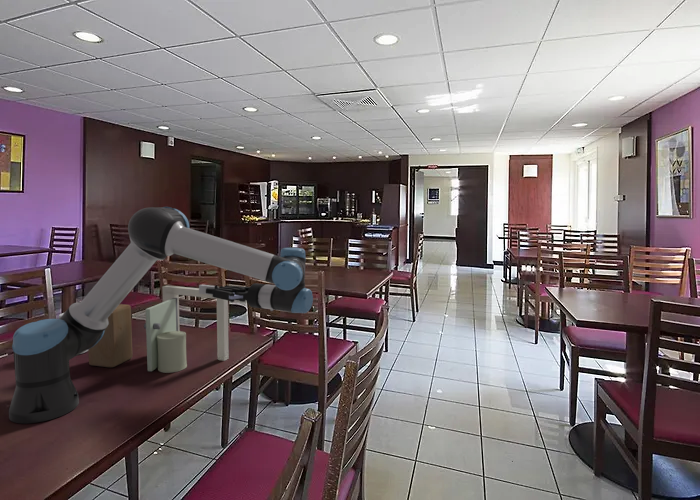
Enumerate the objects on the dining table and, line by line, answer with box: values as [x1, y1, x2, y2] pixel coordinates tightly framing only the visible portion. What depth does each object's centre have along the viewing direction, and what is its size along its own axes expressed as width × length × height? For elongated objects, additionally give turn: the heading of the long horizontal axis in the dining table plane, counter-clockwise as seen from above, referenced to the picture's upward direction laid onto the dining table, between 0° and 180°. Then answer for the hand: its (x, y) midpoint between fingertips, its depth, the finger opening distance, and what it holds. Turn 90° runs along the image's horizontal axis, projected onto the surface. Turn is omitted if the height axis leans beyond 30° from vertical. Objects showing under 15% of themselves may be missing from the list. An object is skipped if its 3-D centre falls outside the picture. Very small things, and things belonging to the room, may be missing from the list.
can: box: [157, 330, 188, 374], centre depth 141 cm, size 9×9×12 cm
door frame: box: [161, 285, 230, 362], centre depth 153 cm, size 2×27×25 cm, turn 71°
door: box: [143, 298, 178, 372], centre depth 145 cm, size 5×18×21 cm, turn 174°
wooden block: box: [87, 303, 133, 368], centre depth 145 cm, size 10×10×20 cm
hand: (200, 288), depth 136 cm, fingers closed
